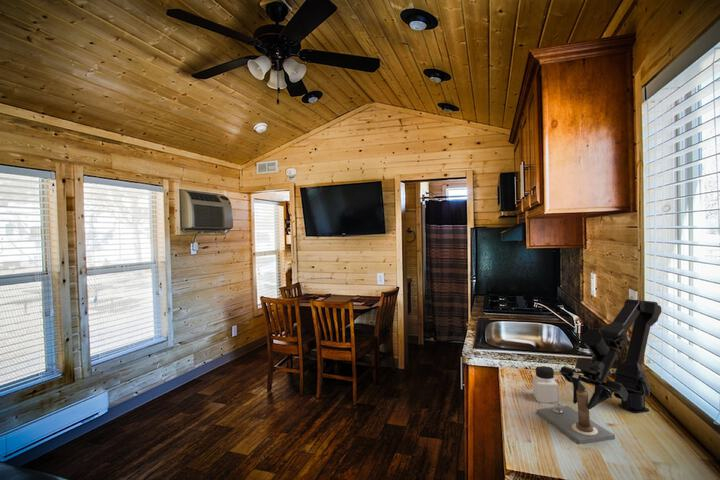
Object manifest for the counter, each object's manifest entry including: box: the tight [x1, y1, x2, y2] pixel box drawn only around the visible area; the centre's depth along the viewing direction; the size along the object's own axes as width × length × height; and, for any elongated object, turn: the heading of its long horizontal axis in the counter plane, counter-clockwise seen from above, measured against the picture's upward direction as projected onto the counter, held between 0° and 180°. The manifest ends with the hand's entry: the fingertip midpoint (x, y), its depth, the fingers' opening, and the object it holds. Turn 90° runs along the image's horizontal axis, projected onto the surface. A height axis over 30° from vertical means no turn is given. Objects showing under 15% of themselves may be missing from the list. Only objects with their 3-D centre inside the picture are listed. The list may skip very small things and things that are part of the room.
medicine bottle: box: [532, 365, 559, 404], centre depth 141 cm, size 7×7×12 cm
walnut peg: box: [576, 389, 593, 432], centre depth 117 cm, size 5×5×12 cm
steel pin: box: [552, 400, 563, 414], centre depth 129 cm, size 3×3×3 cm
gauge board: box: [536, 405, 616, 445], centre depth 122 cm, size 12×20×1 cm, turn 10°
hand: (581, 405), depth 116 cm, fingers open, 4 cm apart
